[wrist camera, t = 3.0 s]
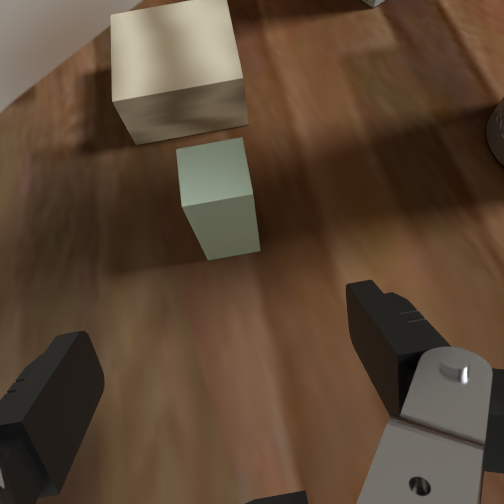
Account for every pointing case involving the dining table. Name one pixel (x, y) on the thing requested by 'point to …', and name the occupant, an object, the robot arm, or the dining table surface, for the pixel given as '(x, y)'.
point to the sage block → (219, 197)
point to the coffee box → (373, 2)
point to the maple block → (176, 71)
